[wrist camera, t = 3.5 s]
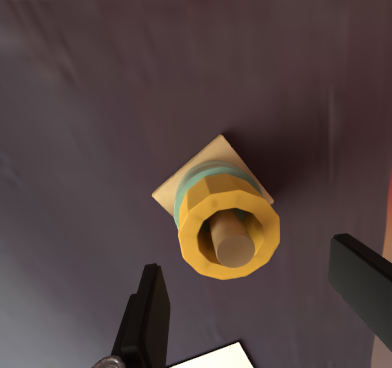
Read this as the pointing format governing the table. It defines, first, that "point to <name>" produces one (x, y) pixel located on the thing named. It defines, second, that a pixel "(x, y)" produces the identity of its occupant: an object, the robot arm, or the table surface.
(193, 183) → the stacking peg
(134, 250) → the table surface
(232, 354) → the printed paper
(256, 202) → the ring
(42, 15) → the table surface
